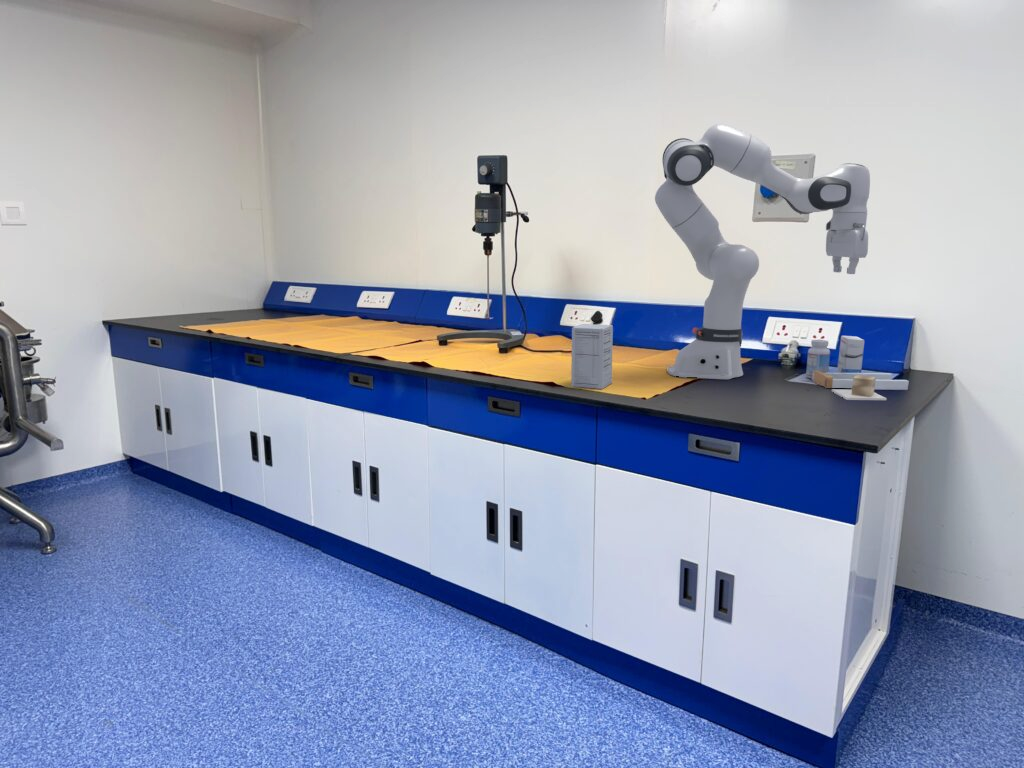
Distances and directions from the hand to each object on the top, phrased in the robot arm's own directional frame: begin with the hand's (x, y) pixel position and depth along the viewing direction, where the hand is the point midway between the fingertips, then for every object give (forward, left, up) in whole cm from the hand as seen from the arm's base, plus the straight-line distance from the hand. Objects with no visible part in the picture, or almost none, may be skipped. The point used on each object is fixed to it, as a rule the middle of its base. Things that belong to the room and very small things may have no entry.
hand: (843, 273), depth 201 cm
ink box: (+7, +6, -31) cm, 33 cm away
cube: (-1, -22, -30) cm, 38 cm away
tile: (-2, -22, -31) cm, 38 cm away
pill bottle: (-4, +2, -31) cm, 32 cm away
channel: (+4, -8, -31) cm, 32 cm away
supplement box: (-72, -13, -31) cm, 80 cm away
